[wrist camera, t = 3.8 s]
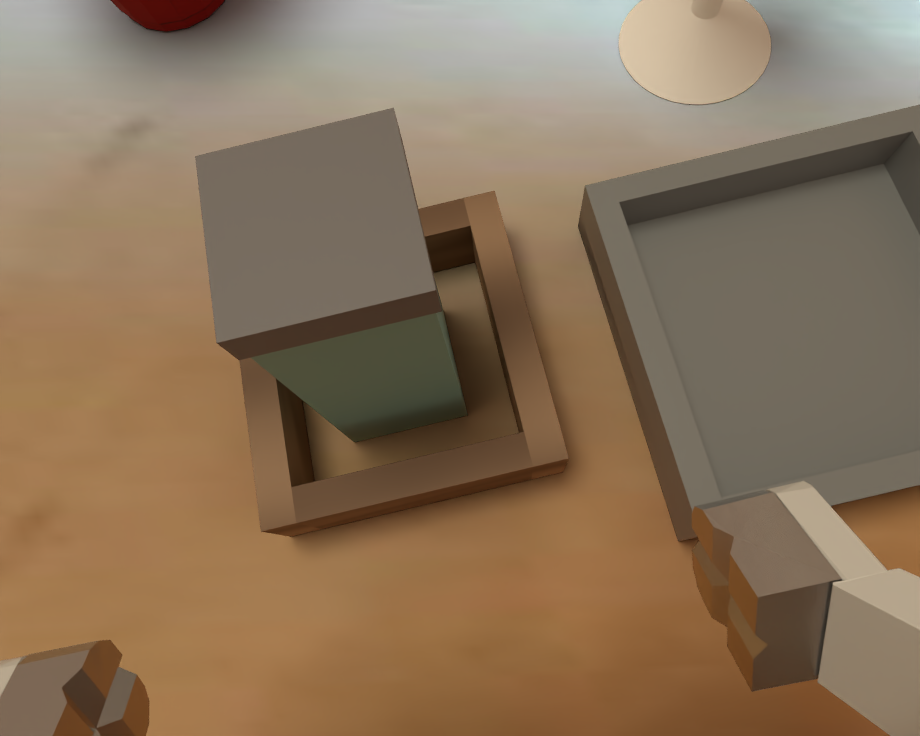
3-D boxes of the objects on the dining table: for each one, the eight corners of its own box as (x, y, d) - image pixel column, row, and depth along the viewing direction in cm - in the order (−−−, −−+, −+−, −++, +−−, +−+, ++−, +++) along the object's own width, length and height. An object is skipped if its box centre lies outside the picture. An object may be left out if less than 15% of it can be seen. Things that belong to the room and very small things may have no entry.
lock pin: (472, 418, 25) (435, 290, 14) (351, 446, 25) (216, 343, 14) (446, 306, 27) (393, 108, 16) (331, 333, 27) (195, 156, 16)
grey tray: (1038, 456, 23) (1111, 439, 20) (678, 541, 23) (700, 536, 21) (884, 152, 27) (927, 102, 24) (577, 225, 27) (585, 185, 25)
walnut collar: (562, 472, 25) (568, 458, 22) (290, 536, 25) (260, 531, 22) (496, 230, 28) (494, 190, 25) (256, 288, 28) (226, 255, 25)
